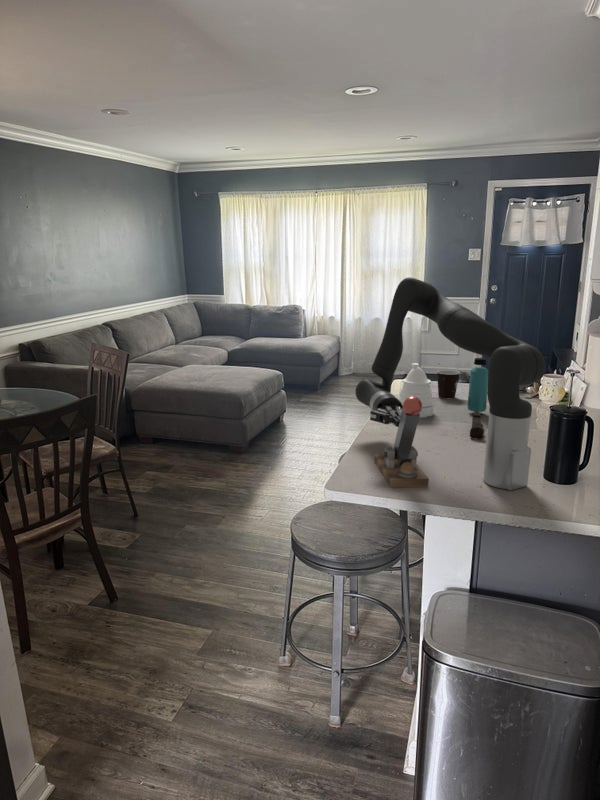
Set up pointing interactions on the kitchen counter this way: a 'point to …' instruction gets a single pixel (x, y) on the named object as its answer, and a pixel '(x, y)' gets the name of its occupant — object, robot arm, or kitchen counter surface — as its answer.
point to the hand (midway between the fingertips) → (402, 424)
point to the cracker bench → (398, 480)
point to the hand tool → (476, 426)
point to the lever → (407, 429)
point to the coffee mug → (447, 383)
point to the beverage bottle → (478, 387)
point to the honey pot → (418, 390)
